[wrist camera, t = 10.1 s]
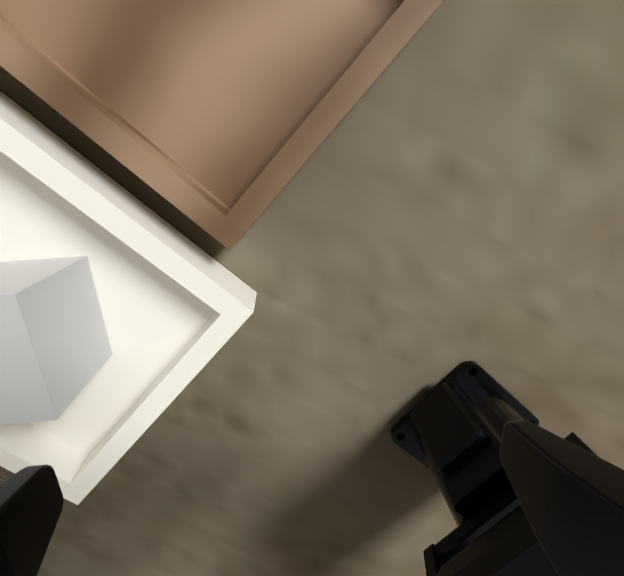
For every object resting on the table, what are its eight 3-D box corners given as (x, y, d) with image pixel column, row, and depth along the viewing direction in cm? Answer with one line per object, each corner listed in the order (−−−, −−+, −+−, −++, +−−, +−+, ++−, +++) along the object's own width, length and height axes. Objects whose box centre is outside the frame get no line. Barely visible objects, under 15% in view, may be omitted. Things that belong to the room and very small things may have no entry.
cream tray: (256, 292, 19) (253, 312, 17) (99, 467, 22) (77, 505, 19) (-17, 77, 15) (-71, 63, 13) (-166, 322, 18) (-233, 348, 16)
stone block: (87, 255, 17) (14, 294, 13) (112, 353, 19) (56, 419, 14) (-29, 263, 17) (-147, 306, 12) (7, 362, 19) (-85, 432, 14)
